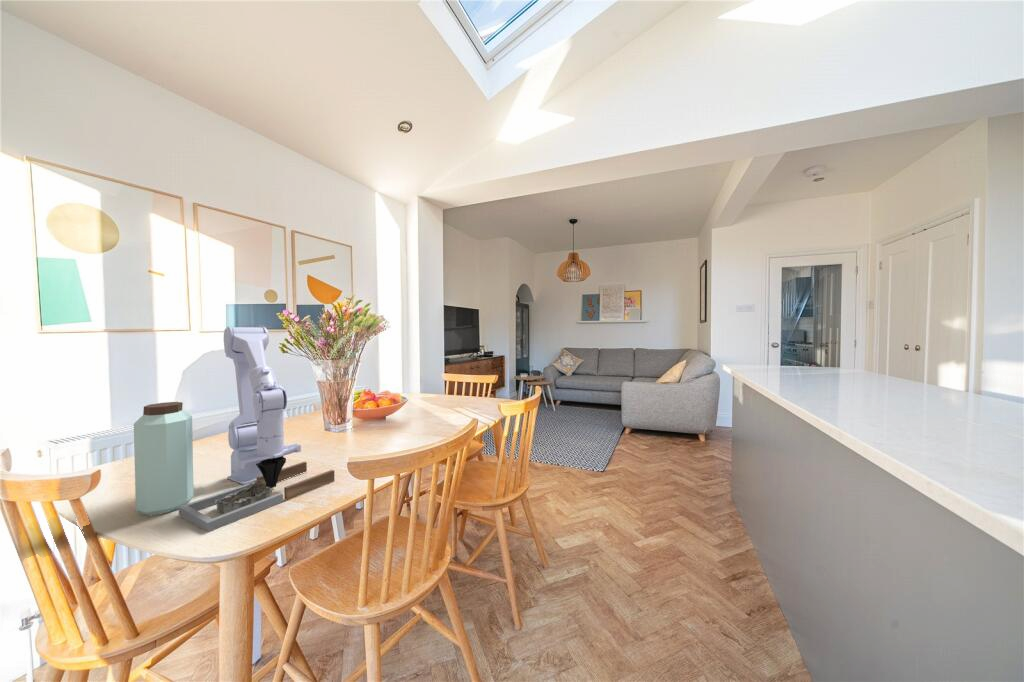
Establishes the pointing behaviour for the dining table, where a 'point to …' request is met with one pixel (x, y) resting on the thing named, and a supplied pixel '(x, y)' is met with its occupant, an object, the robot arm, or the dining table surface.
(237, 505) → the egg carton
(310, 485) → the walnut rack
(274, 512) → the dining table surface
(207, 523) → the grey bay
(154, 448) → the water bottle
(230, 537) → the dining table surface
